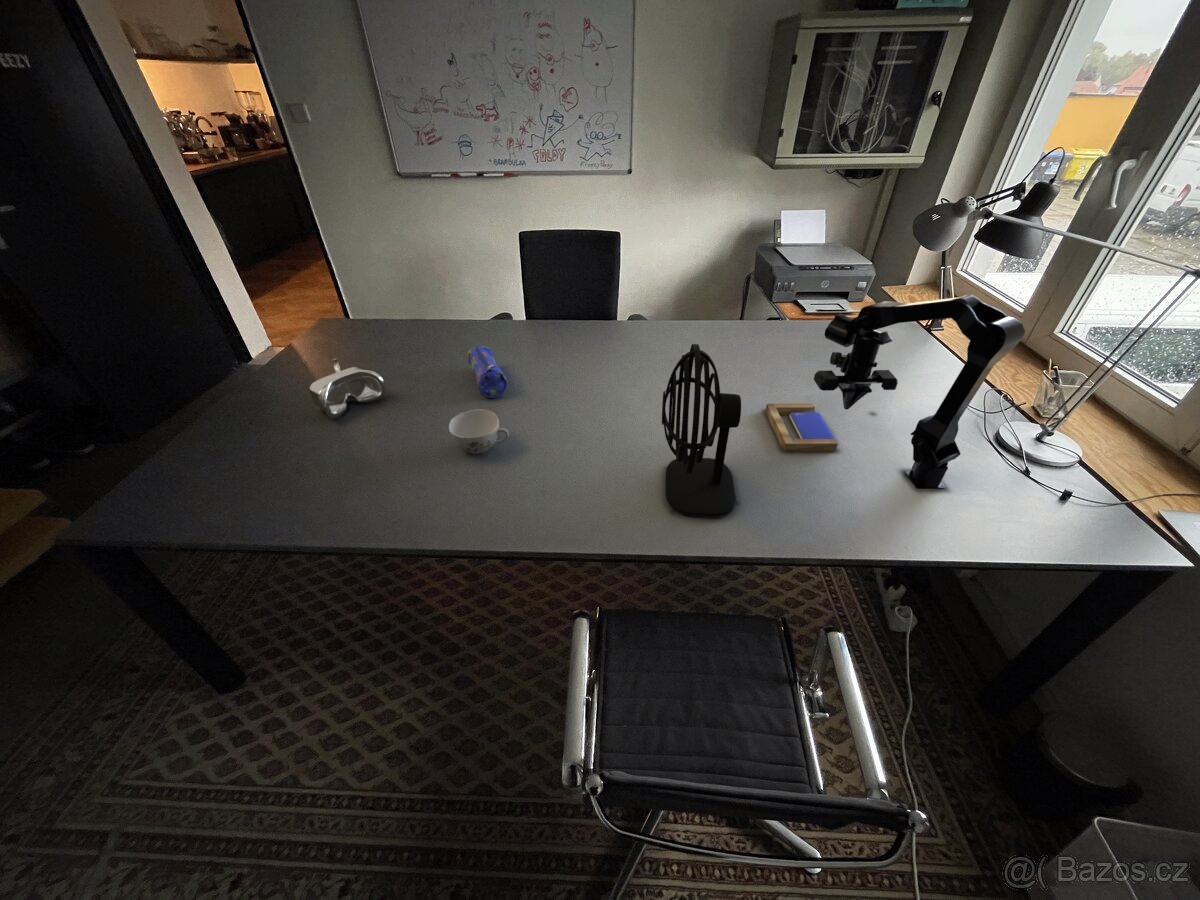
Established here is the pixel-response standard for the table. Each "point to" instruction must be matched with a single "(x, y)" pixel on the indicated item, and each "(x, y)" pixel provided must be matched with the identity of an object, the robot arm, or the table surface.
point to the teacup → (476, 430)
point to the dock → (783, 435)
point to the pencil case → (486, 371)
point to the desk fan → (692, 477)
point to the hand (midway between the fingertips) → (845, 408)
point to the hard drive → (810, 426)
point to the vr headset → (346, 389)
